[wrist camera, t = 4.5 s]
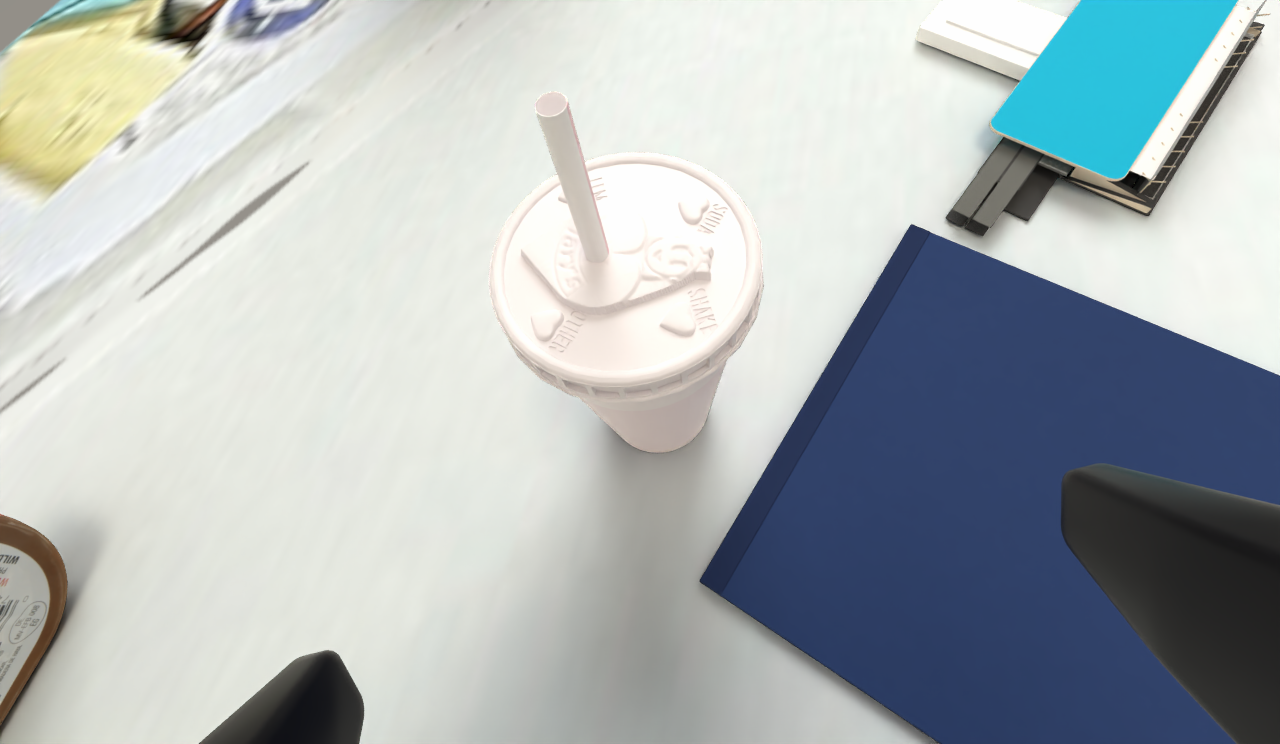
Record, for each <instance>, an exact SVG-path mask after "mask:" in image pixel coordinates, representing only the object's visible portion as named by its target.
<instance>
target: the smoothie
mask: <svg viewBox="0 0 1280 744" xmlns="http://www.w3.org/2000/svg"><path fill="white" fill-rule="evenodd" d="M534 107H535V111H536V114H537V117H538V120H539V123H540V126H541V128H542V131H543V134H544V137H545V140H546V143H547V146H548V149H549V152H550V155H551V157H552V160H553V163H554V166H555V169H556V172H557V174H556V175H554V176H552V177H551V178H549V179H547V180H546V181H545V182H543V183H542V184H540V185H539V186H538V187H537V188H535V189H534V190H533V191H532V192H531V193H530V194H528V195H527V197H526V198H525V199H524V200H523V201H522V202H521V203H520V204H519V205H518V206H517V207H516V209H515V210H514V211H513V212H512V214H511V215H510V217H509V218H508V219H507V221H506V223H505V224H504V226H503V228H502V230H501V232H500V234H499V236H498V238H497V241H496V243H495V246H494V249H493V253H492V257H491V262H490V269H489V290H490V298H491V302H492V306H493V309H494V312H495V315H496V318H497V320H498V322H499V324H500V326H501V328H502V330H503V331H504V333H505V334H506V336H507V338H508V340H509V342H510V343H511V345H512V347H513V349H514V351H515V353H516V355H517V356H518V358H519V359H520V360H522V361H523V362H524V363H525V364H526V365H527V366H528V367H529V368H530V369H531V370H532V371H533V372H534V373H535V374H536V375H537V376H538V377H539V378H540V379H541V380H543V381H545V382H547V383H548V384H550V385H552V386H554V387H556V388H558V389H560V390H562V391H564V392H565V393H567V394H569V395H571V396H575V397H579V398H580V399H581V400H582V401H583V402H584V403H585V404H586V405H587V406H588V407H589V408H590V409H592V410H593V411H594V412H595V413H596V414H597V415H598V416H599V417H600V418H601V419H602V420H603V421H604V422H605V423H607V424H608V425H609V426H610V427H611V428H612V429H613V430H614V431H615V432H616V433H617V434H618V435H619V436H620V437H622V438H623V439H624V440H625V441H626V442H627V443H628V444H630V445H631V446H633V447H635V448H637V449H640V450H642V451H646V452H652V453H664V452H670V451H674V450H676V449H679V448H681V447H683V446H685V445H686V444H688V443H689V442H691V441H692V440H693V439H694V438H695V437H696V436H697V435H698V434H699V432H700V431H701V429H702V428H703V426H704V424H705V422H706V419H707V416H708V413H709V410H710V407H711V405H712V402H713V399H714V396H715V393H716V390H717V387H718V384H719V381H720V379H721V376H722V373H723V370H724V367H725V364H726V361H727V359H728V358H729V357H730V356H731V355H732V354H734V353H735V352H736V351H737V350H738V349H739V348H740V346H741V344H742V342H743V341H744V339H745V337H746V335H747V334H748V332H749V330H750V328H751V326H752V325H753V323H754V321H755V319H756V318H757V313H758V309H759V305H760V300H761V296H762V291H763V287H764V284H763V273H762V260H763V254H762V245H761V240H760V235H759V231H758V229H757V226H756V223H755V220H754V218H753V216H752V214H751V212H750V211H749V209H748V207H747V206H746V204H745V203H744V201H743V200H742V199H741V198H740V196H739V195H738V194H737V193H736V192H735V191H734V190H733V189H732V188H731V187H730V186H729V185H728V184H727V183H726V182H725V181H723V180H722V179H721V178H720V177H718V176H717V175H715V174H713V173H712V172H710V171H709V170H707V169H705V168H703V167H701V166H699V165H697V164H694V163H692V162H690V161H687V160H684V159H681V158H677V157H673V156H669V155H664V154H657V153H645V152H628V153H616V154H611V155H605V156H601V157H597V158H592V159H590V160H587V161H584V157H583V154H582V150H581V147H580V143H579V139H578V136H577V132H576V129H575V125H574V121H573V118H572V114H571V111H570V107H569V103H568V100H567V97H566V96H565V95H564V94H563V93H560V92H555V91H553V92H547V93H545V94H543V95H541V96H540V97H539V98H538V99H537V100H536V102H535V106H534Z"/></svg>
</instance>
